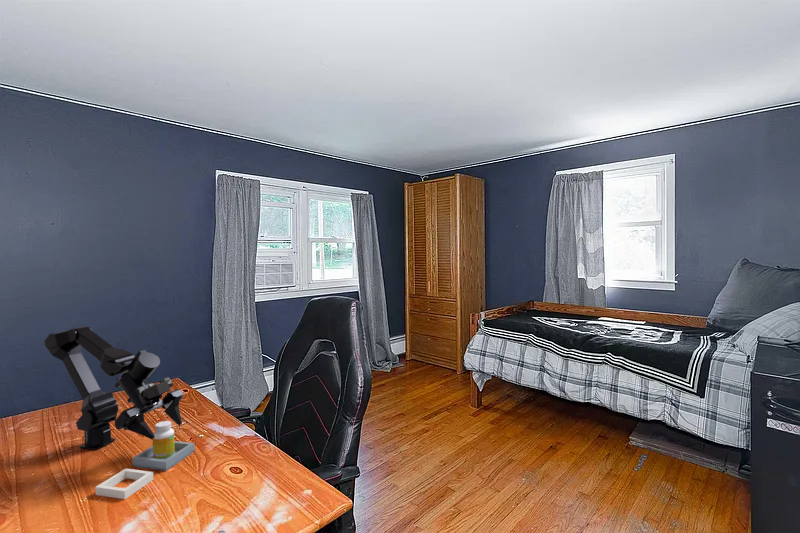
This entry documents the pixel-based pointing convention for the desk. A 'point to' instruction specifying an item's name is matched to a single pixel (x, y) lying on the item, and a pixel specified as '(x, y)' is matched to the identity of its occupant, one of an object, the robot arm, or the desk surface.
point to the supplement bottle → (163, 441)
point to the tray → (149, 462)
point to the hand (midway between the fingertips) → (167, 431)
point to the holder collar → (123, 493)
